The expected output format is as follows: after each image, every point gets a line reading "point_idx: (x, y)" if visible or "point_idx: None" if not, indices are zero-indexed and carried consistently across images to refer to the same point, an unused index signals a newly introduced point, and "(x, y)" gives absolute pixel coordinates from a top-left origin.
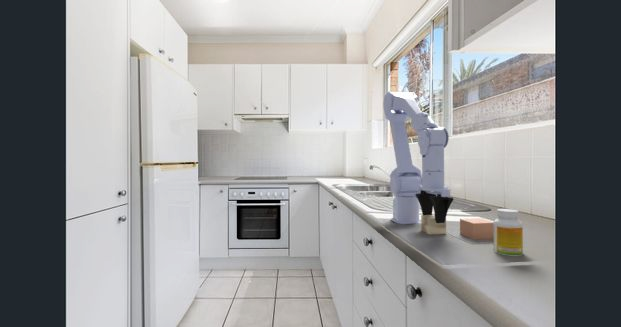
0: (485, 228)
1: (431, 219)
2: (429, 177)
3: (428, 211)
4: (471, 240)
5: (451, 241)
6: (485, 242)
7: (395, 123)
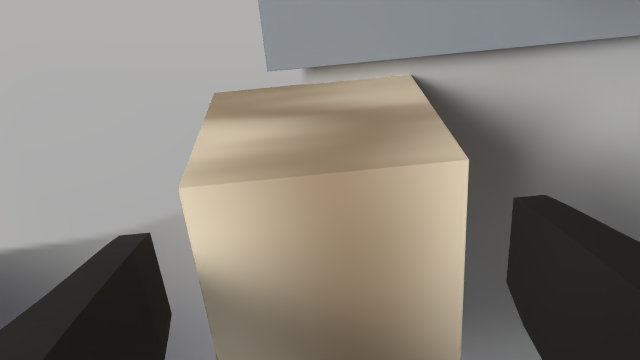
0: None
1: (455, 334)
2: None
3: (130, 329)
4: None
5: (625, 111)
6: None
7: None
